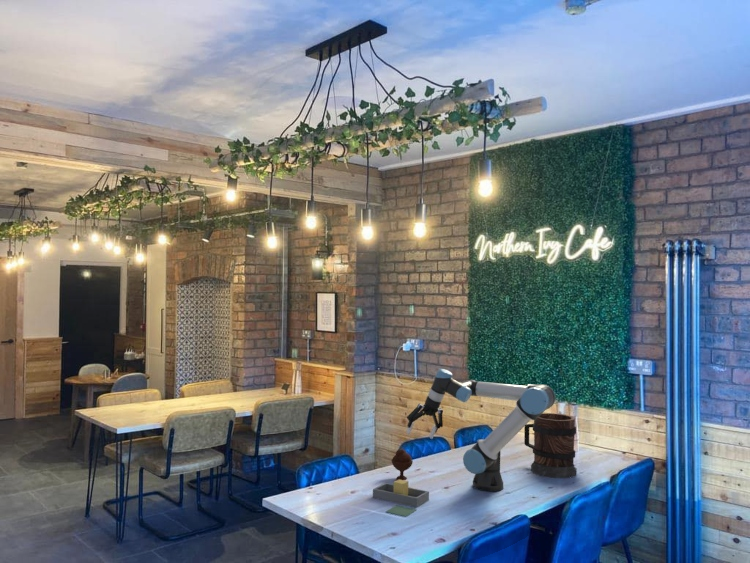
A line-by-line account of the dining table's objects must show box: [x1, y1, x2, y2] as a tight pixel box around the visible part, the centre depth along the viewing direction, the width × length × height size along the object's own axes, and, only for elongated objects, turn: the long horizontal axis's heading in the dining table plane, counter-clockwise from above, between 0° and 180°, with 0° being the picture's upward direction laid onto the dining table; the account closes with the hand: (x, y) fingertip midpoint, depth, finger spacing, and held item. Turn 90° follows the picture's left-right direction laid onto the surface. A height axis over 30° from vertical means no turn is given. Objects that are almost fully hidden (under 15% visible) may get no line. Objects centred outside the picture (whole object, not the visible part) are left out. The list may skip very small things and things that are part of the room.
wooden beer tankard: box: [523, 412, 578, 479], centre depth 341 cm, size 24×30×30 cm
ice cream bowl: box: [391, 448, 414, 481], centre depth 320 cm, size 11×11×15 cm
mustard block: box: [393, 479, 409, 496], centre depth 285 cm, size 5×5×8 cm
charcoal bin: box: [372, 482, 430, 509], centre depth 285 cm, size 23×12×4 cm, turn 59°
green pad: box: [385, 504, 418, 518], centre depth 269 cm, size 10×10×1 cm
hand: (419, 435), depth 315 cm, fingers open, 13 cm apart
